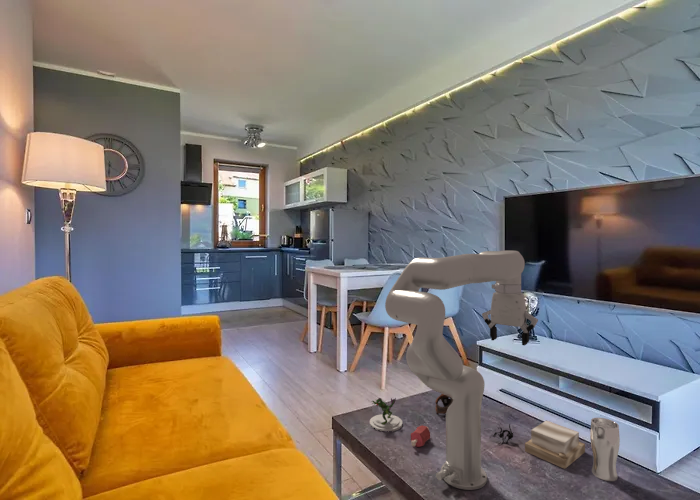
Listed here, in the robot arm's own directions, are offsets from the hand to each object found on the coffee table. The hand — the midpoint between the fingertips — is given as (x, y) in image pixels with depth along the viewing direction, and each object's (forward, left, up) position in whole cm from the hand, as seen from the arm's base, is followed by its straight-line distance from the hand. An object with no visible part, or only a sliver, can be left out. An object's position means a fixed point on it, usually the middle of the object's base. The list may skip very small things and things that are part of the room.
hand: (509, 341), depth 124 cm
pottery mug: (+4, +28, -35) cm, 45 cm away
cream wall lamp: (+8, -11, -35) cm, 37 cm away
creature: (+1, +4, -35) cm, 35 cm away
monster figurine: (-21, +36, -35) cm, 54 cm away
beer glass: (+7, -25, -34) cm, 43 cm away
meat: (-21, +19, -35) cm, 45 cm away
